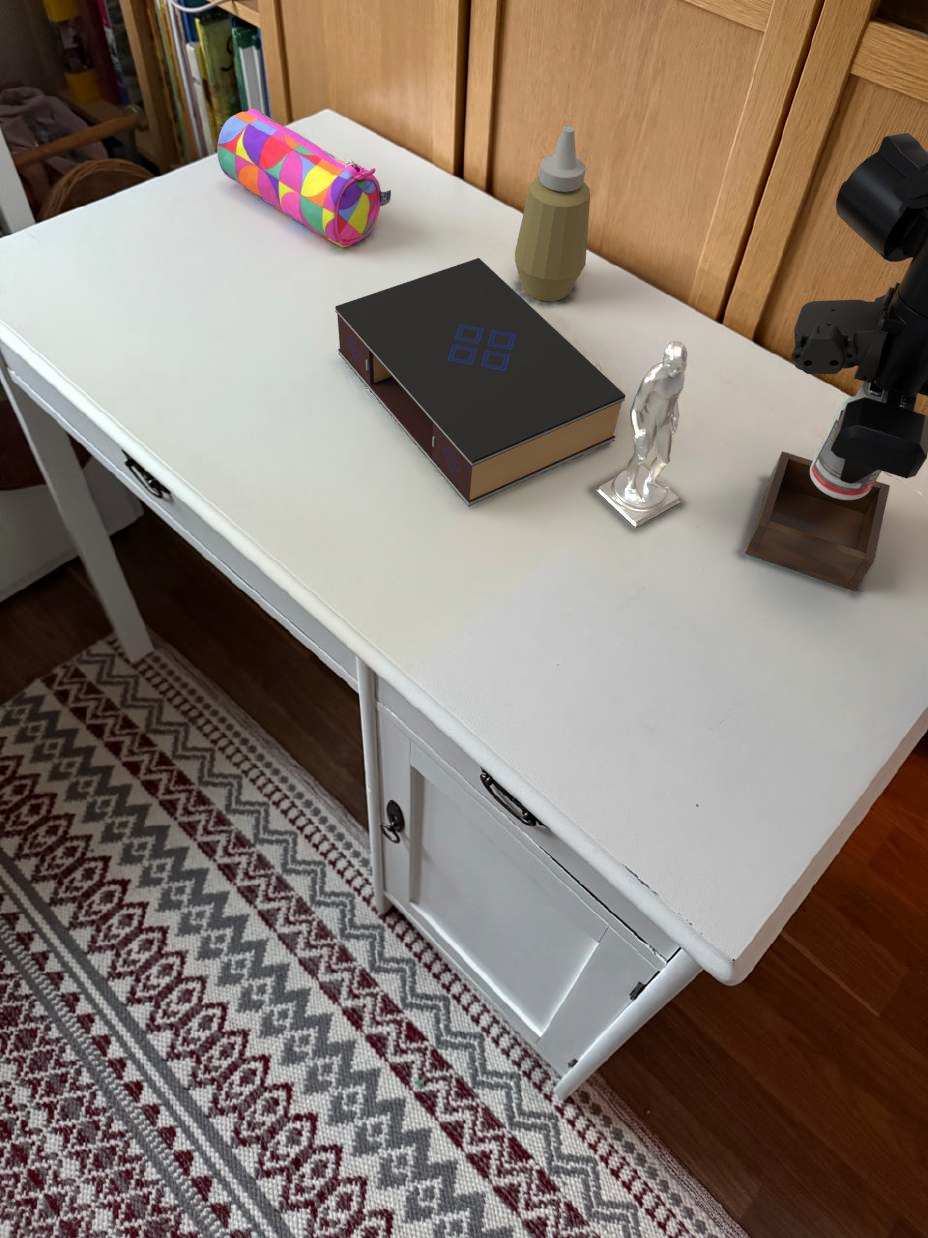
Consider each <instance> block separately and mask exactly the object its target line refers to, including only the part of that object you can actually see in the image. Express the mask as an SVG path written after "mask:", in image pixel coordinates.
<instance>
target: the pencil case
mask: <svg viewBox="0 0 928 1238" xmlns="http://www.w3.org/2000/svg"><path fill="white" fill-rule="evenodd" d="M216 147H217V148H216V153H217V160H218V165H219V167H220V169H221V171H222V172H223V173H224V175H226V177H228V178H229V179H230V180H232V181H234V182H236V183H238V184H239V185H241V186H242V187H244V188H246V189H247V190H248V191H250V193H252V194H253V195H255V196H256V197H258V198H259V199H261V200H263V201H264V202H265V203H267V204H271V206H273V207H274V208H276V209H277V210H279V211H281V212H282V213H283V214H285V215H287V216H289V217H290V218H291V219H293V220H295V221H297V222H298V223H300V224H301V225H303V226H305V227H306V228H308V229H309V230H310V231H312V232H314V233H315V234H317V235H319V236H320V237H322V238H324V239H325V240H328V241H330V242H332V243H333V244H335V245H337V246H339V247H341V248H347V247H351V246H352V245H354V244H357V243H359V242H361V241H362V240H364V239H365V238H366V237H367V236H368V235H370V233H371V232H372V231H373V230H374V228H375V226H376V223H377V221H378V217H379V213H380V211H381V210H380V209H381V207H382V206H385V205H388V204H389V203H390V201H391V196H392V190H391V189H389V190H386V191H382V189H381V185H380V181H379V180H378V179H377V177H376V176H375V175H374V174H375V172H376V168H375V167H373V168H371V169H369V170H368V169H366V168H364V167H362V166H361V165H360V164H358V163H356V162H354V161H353V160H351V159H347V160H346V161H345V162H343V161H342V160H341V159H338V158H337V157H336V156H334V155H333V154H331V153H329V152H328V151H327V150H325V149H323V148H321V147H320V146H319V145H317V144H316V143H315V142H312V141H311V140H309V139H308V138H306V137H305V136H303V135H301V134H300V133H298V132H296V131H294V130H292V129H291V128H289V127H286V126H284V125H282V124H280V123H278V122H277V121H275V120H274V119H273V118H271V117H269V116H268V115H267V114H265V113H264V112H262V111H259V110H257V109H256V108H249V109H247V111H240V112H238V113H236V114H234V115H232V116H230V117H229V118H228V119H227V120H226V121H225V123H224V124H223V126H222V127H221V130H220V133H219V135H218V140H217V146H216Z"/></svg>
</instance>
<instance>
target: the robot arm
mask: <svg viewBox="0 0 928 1238" xmlns="http://www.w3.org/2000/svg"><path fill="white" fill-rule="evenodd" d="M835 210H836V214H837V215H838V217H839V218H840V220H842V222H844V223H845V224H846V225H847V226H848V227H849V228H850V229H851V230H852V231H854V232H855V233H856V234H857V235H858V236H859V237H860V238H861V239H862V240H863V241H864V242H865V243H866V244H868V245H869V246H870V248H872V249H873V250H874V251H875V252H876V253H877V254H878V255H879V256H880V257H882V259H883V260H885V261H887V262H890V263H899V262H902V261H905V260H908V259H911V262H910V263H909V265H908V267H907V269H906V271H905V273H904V275H903V277H902V279H901V281H900V282H896V283H895V285H894V286H893V287H892V286H889V288H888V290H887V292H886V293H885V294H883V295H881V296H879V297H876V298H875V299H874V300H873V301H866V300H863V299H834V300H833V299H831V300H830V299H829V300H813V301H808V302H807V303H805V304H804V305H802V307H801V309H800V310H799V311H800V312H799V314H798V317H797V320H796V323H795V326H794V329H793V339H794V340H793V341H794V343H793V345H794V346H793V350H792V353H791V356H790V357H791V360H792V361H793V362H794V367H795V368H796V369H797V370H799V371H802V372H803V373H805V374H806V375H837V374H838V373H839V372H841V371H842V370H844V369H852V368H855V367H857V368H856V370H855V371H854V376H853V379H854V380H858V381H861V382H867V383H870V385H869V388H868V394H870V395H872V396H876V397H881V395H882V392H883V390H884V394H883V398H882V402H880V401H876V400H873V399H870V398H866V397H863V398H860V399H857V400H854V401H851V402H849V403H847V405H846V407H845V409H844V410H841V413H840V417H839V420H838V424H837V427H836V430H835V434H834V438H833V441H832V445H831V449H830V450H831V451H832V452H833V453H834V454H835V456H836V457H839V458H842V459H845V461H844V465H843V469H842V473H841V477H840V480H841V481H843V482H846V483H849V484H854V483H855V482H857V481H859V480H861V479H863V478H864V477H866V476H868V475H870V474H872V473H873V472H875V471H877V470H881V472H884V473H886V474H891V475H894V476H897V477H900V478H903V479H911V478H913V477H916V476H917V474H918V473H919V471H920V470H921V468H922V466H923V465H924V463H925V462H926V461H927V458H928V417H927V415H926V414H924V413H919V412H916V406H917V401H918V396H919V395H922V396H925V397H928V151H927V150H925V148H923V147H922V145H921V143H920V142H919V140H918V139H917V138H915V137H914V136H913V135H911V134H910V133H909V132H904V133H898V134H892V135H891V134H890V135H886V136H884V137H883V138H882V141H881V143H880V145H879V147H878V150H877V151H876V152H874V153H873V154H871V155H870V156H868V157H867V158H866V159H864V160H863V161H862V162H861V163H860V164H859V165H858V166H856V168H854V170H853V171H852V172H851V174H850V175H849V176H848V178H847V179H846V180H845V181H844V182H842V184H841V185H840V187H839V190H838V192H837V196H836V199H835ZM902 396H903V397H902ZM901 399H902V400H901ZM900 405H901V406H900Z"/></svg>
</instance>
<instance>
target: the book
mask: <svg viewBox="0 0 928 1238" xmlns="http://www.w3.org/2000/svg"><path fill="white" fill-rule="evenodd" d="M334 312H335V313H336V315H337V316H336V317H337V329H338V343H339V348H338V349H337V350H338V353H337V354H338V355H339V356H340V357H341V359H342V360H343V361H344V362H345V363H346V364H347V366H348V367H349V368H350V369H351V371H352V372H353V373H354V374H355V375H356V376H357V377H358V379H359V380H360V381H361V382H362V383H363V384H364V386H365V387H366V388H367V389H368V390H369V391H370V393H371V394H372V395H373V396H374V397H375V399H376V401H378V402H379V404H381V406H382V407H383V409H385V411H386V412H387V413H388V414H389V415H390V416H391V418H392V419H393V420H394V421H395V422H396V423H397V424H398V426H399V427H400V428H401V429H402V430H403V431H404V433H405V434H406V435H407V436H408V437H409V439H410V440H411V441H412V443H414V445H415V446H416V448H418V449H419V451H420V452H421V453H422V455H424V456H425V458H426V459H427V460H428V461H429V462H430V463H431V465H432V466H433V467H434V468H435V469H436V470H437V471H438V473H439V475H441V476H442V477H443V479H444V480H445V481H446V482H447V484H449V486H450V488H452V489H453V490H454V492H455V493H456V494H457V496H459V498H461V500H463V502H464V503H465V505H466V506H467V507H468V508H469V507H471V506H473V505H476V504H478V503H480V502H482V501H485V500H487V499H489V498H491V497H493V496H496V495H498V494H500V493H502V492H505V491H507V490H509V489H512V488H513V487H516V486H519V485H520V484H523V483H524V482H527V481H529V480H532V479H534V478H536V477H539V476H540V475H543V474H544V473H547V472H549V471H551V470H553V469H555V468H558V467H560V466H563V465H564V464H567V463H569V462H571V461H573V460H575V459H578V458H580V457H583V456H584V455H586V454H589V453H591V452H593V451H595V450H598V449H600V448H603V447H604V446H607V445H608V444H611V443H613V442H616V435H615V431H616V428H617V424H618V420H619V416H620V412H621V407H622V404H623V402H625V401H626V394H625V393H624V391H622V390H621V389H620V388H619V387H617V386H616V385H615V383H613V382H612V381H611V380H610V379H609V378H608V377H607V376H606V375H605V374H604V373H602V372H601V370H599V368H598V367H596V366H595V365H594V364H593V362H591V361H590V360H589V359H588V358H587V357H586V356H585V355H583V354H582V353H581V352H580V351H579V350H578V349H577V348H576V347H575V346H574V345H573V344H572V343H570V341H569V340H568V339H567V338H565V337H564V336H563V335H562V334H561V333H560V332H559V331H558V330H557V329H555V327H554V326H552V324H550V323H549V322H548V321H547V320H546V319H545V318H544V317H543V316H542V315H541V314H539V312H538V311H537V310H536V309H534V308H533V306H531V305H530V304H529V303H528V302H527V301H526V300H525V299H523V297H521V295H520V294H518V293H517V292H516V291H515V290H514V289H513V288H512V287H511V286H510V285H509V284H507V282H505V280H503V279H502V278H501V277H500V276H499V275H498V274H497V273H496V272H495V271H494V270H493V269H491V267H490V266H488V264H486V263H485V262H484V261H483V260H482V259H481V258H480V257H477V258H474V259H471V260H468V261H465V262H462V263H459V264H456V265H452V266H450V267H447V268H444V269H441V270H438V271H436V272H433V273H430V274H429V273H428V274H427V275H424V276H421V277H417V278H414V279H412V280H409V281H406V282H403V283H400V284H398V285H394V286H391V287H389V288H385V289H381V290H379V291H376V292H373V293H370V294H368V295H365V296H362V297H358V298H356V299H353V300H349V301H346V302H344V303H340V304H338V305H335V306H334Z"/></svg>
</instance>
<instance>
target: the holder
mask: <svg viewBox="0 0 928 1238" xmlns="http://www.w3.org/2000/svg"><path fill="white" fill-rule="evenodd" d="M780 452H781V453H780V455H779V457H778V459H777V461H776V464H775V466H774V467H773V470H772V472H771V474H770V476H769V479H768V480H767V483H766V486H765V490H764V493H763V495H762V499H761V502H760V505H759V508H758V512H757V513H756V517H755V519H754V520H755V521H754V523H753V527H752V529H751V533H750V536H749V539H748V542H747V545H746V548H745V550H744V551H745V554H746V555H749V556H752V557H754V558H758V559H760V560H764V561H766V562H770V563H773V564H775V565H778V566H781V567H783V568H787V569H790V570H793V571H795V572H799V573H801V574H805V575H807V576H810V577H813V578H816V579H818V580H822V581H825V582H827V583H831V584H833V585H836V586H839V587H842V588H845V589H848V590H851V591H854V592H856V590H857V588H858V587H859V586H860V584H861V582H862V581H863V580H864V578H865V577H866V575H867V574H868V572H869V570H870V569H871V568H872V566H873V564H874V563H875V559H876V553H877V549H878V544H879V540H880V536H881V530H882V526H883V521H884V518H885V517H884V516H885V513H886V512H885V511H886V506H887V502H888V497H889V494H890V493H889V492H890V488H891V485H890V484H887V483H884V482H880V481H877V480H876V482H875V483H874V485H873V486H872V488H871V490H870V491H869V492H868V493H867V494H866V495H865V496H863V497H861V498H859V499H854V500H843V499H837V498H833V497H831V496H829V495H827V494H825V493H824V492H822V491H821V490H820V489H819V488H818V487H817V486H816V485H815V484H814V482H813V481H812V479H811V476H810V467H811V464H812V462H813V460H811V459H808V458H806V457H802V456H800V455H796V454H792V453H790V452H786V451H783V450H782V451H780Z"/></svg>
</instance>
